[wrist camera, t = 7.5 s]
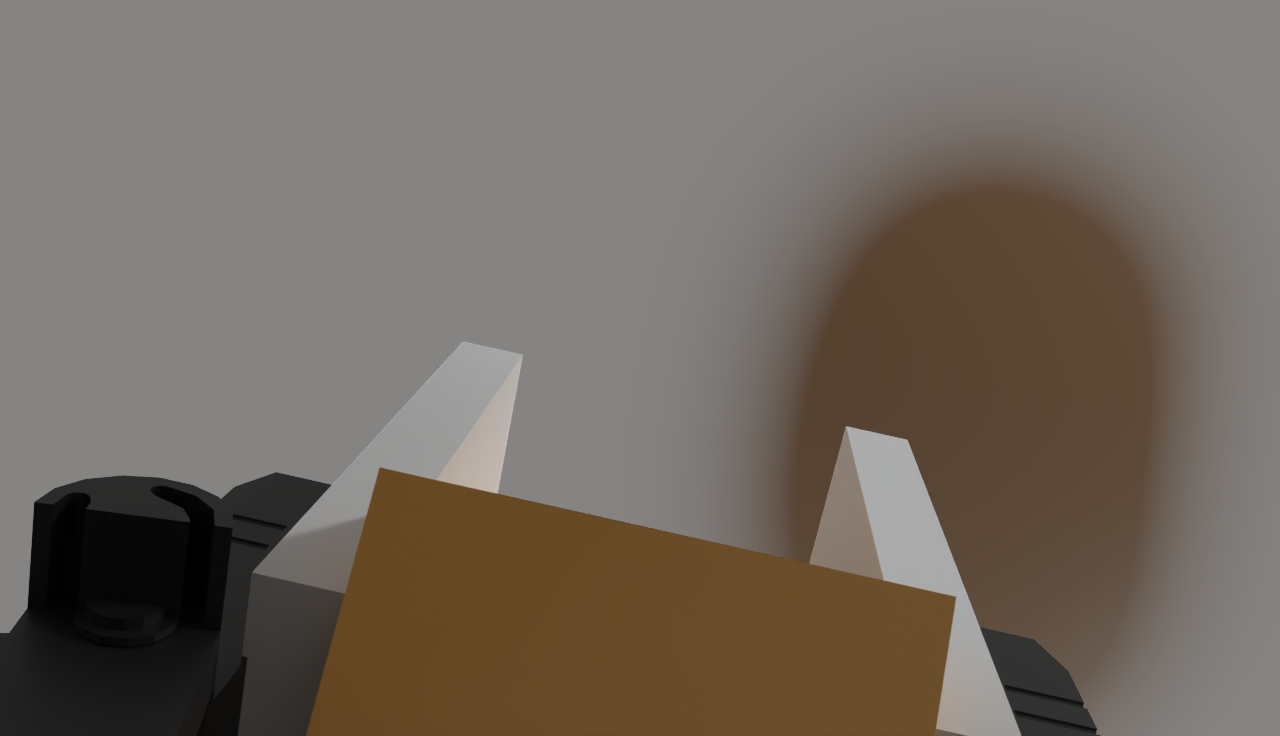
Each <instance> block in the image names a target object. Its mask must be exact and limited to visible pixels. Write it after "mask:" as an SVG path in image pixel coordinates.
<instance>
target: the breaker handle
mask: <svg viewBox="0 0 1280 736" xmlns="http://www.w3.org/2000/svg"><path fill="white" fill-rule="evenodd" d="M955 602H956V596H951V595H947V594H942V593H938V592H933V591H929V590H924V589H920V588H915V587H911V586H906V585H902V584H898V583H893V582H889V581H884V580H880V579H875V578H871V577H866V576H862V575H857V574H853V573H848V572H844V571H840V570H835V569H831V568H826V567H822V566H817V565H813V564H808V563H804V562H799V561H795V560H791V559H786V558H782V557H777V556H773V555H768V554H763V553H759V552H755V551H750V550H746V549H741V548H737V547H733V546H728V545H724V544H719V543H715V542H710V541H706V540H701V539H697V538H692V537H688V536H683V535H679V534H675V533H670V532H666V531H661V530H657V529H652V528H648V527H643V526H639V525H634V524H630V523H625V522H621V521H617V520H612V519H608V518H603V517H599V516H594V515H590V514H585V513H581V512H577V511H572V510H567V509H562V508H559V507H554V506H550V505H545V504H541V503H536V502H532V501H527V500H523V499H518V498H514V497H509V496H505V495H501V494H496V493H492V492H487V491H483V490H478V489H474V488H469V487H465V486H461V485H456V484H452V483H447V482H443V481H438V480H434V479H429V478H425V477H420V476H416V475H412V474H407V473H403V472H398V471H394V470H389V469H385V468H379V471H378V475H377V479H376V482H375V486H374V490H373V493H372V497H371V501H370V504H369V508H368V511H367V515H366V519H365V522H364V526H363V530H362V533H361V537H360V541H359V544H358V548H357V551H356V555H355V559H354V562H353V566H352V570H351V573H350V577H349V581H348V584H347V588H346V592H345V595H344V599H343V602H342V606H341V610H340V613H339V617H338V621H337V624H336V628H335V632H334V635H333V639H332V642H331V646H330V650H329V653H328V657H327V661H326V664H325V668H324V672H323V675H322V679H321V682H320V686H319V690H318V693H317V697H316V701H315V704H314V708H313V712H312V715H311V719H310V723H309V726H308V730H307V733H306V736H935V732H936V725H937V719H938V712H939V706H940V699H941V693H942V687H943V680H944V674H945V667H946V661H947V654H948V648H949V641H950V635H951V628H952V622H953V615H954V609H955Z"/></svg>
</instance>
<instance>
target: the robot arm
mask: <svg viewBox="0 0 1280 736" xmlns="http://www.w3.org/2000/svg"><path fill="white" fill-rule="evenodd" d="M522 358H523V355H522V354H518V353H513V352H508V351H504V350H500V349H495V348H491V347H486V346H482V345H477V344H473V343H468V342H464V341H463V342H462V343H461V344H460V345H459V346H458V347H457V348H456V350H455V351H454V352H453V353H452V354H451V355H450V356H449V357H448V358H447V359H446V360H445V362H444V363H443V364H442V365H441V366H440V367H439V368H438V369H437V370H436V371H435V373H434V374H433V375H432V376H431V377H430V378H429V379H428V380H427V381H426V382H425V384H424V385H423V386H422V387H421V388H420V389H419V390H418V391H417V392H416V393H415V394H414V395H413V397H412V398H411V399H410V400H409V401H408V402H407V403H406V404H405V405H404V406H403V408H402V409H401V410H400V411H399V412H398V413H397V414H396V415H395V416H394V417H393V418H392V420H391V421H390V422H389V423H388V424H387V425H386V426H385V427H384V428H383V429H382V431H381V432H380V433H379V434H378V435H377V436H376V437H375V438H374V439H373V440H372V441H371V443H370V444H369V445H368V446H367V447H366V448H365V449H364V450H363V451H362V452H361V454H360V455H359V456H358V457H357V458H356V459H355V460H354V461H353V462H352V464H350V466H349V467H348V468H347V469H346V470H345V471H344V472H343V473H342V474H341V475H340V477H339V478H338V479H337V480H336V481H335V482H334V483H333V484H332V485H330V484H325V483H321V482H316V481H312V480H308V479H303V478H299V477H294V476H290V475H285V474H281V473H273V474H270V475H267V476H265V477H262V478H259V479H256V480H253V481H250V482H247V483H244V484H242V485H239V486H236V487H234V488H233V489H232V490H231V491H230V492H229V493H227V494H226V495H225V496H224V497H223V498H222V499H220V498H219V497H217V496H215V495H213V494H211V493H209V492H207V491H204V490H202V489H200V488H198V487H196V486H194V485H190V484H185V483H181V482H176V481H172V480H167V479H162V478H155V477H154V478H153V477H137V476H114V477H103V478H93V479H85V480H81V481H78V482H75V483H71V484H68V485H65V486H61V487H58V488H55V489H53V490H52V491H50V492H49V493H48V494H46V495H44V496H43V497H41V498H40V499H38V500H37V501H35V502H34V518H33V532H32V548H31V564H30V578H29V579H30V580H29V595H28V608H27V610H26V611H25V613H24V614H23V615H22V616H21V618H20V619H19V621H18V622H17V623H16V625H15V626H14V627H13V629H12V630H11V631H10V633H0V736H306V733H307V730H308V726H309V723H310V719H311V715H312V712H313V708H314V704H315V701H316V697H317V693H318V690H319V686H320V682H321V679H322V675H323V672H324V668H325V664H326V661H327V657H328V653H329V650H330V646H331V642H332V639H333V635H334V632H335V628H336V624H337V621H338V617H339V613H340V610H341V606H342V602H343V599H344V595H345V592H346V588H347V584H348V581H349V577H350V573H351V570H352V566H353V562H354V559H355V555H356V551H357V548H358V544H359V541H360V537H361V533H362V530H363V526H364V522H365V519H366V515H367V511H368V508H369V504H370V501H371V497H372V493H373V490H374V486H375V482H376V479H377V475H378V471H379V468H385V469H389V470H394V471H398V472H403V473H407V474H412V475H416V476H420V477H425V478H429V479H434V480H438V481H443V482H447V483H452V484H456V485H461V486H465V487H469V488H474V489H478V490H483V491H487V492H492V493H496V494H498V488H499V482H500V478H501V472H502V467H503V461H504V455H505V450H506V445H507V439H508V434H509V428H510V423H511V418H512V412H513V406H514V401H515V396H516V390H517V385H518V379H519V374H520V369H521V363H522ZM809 564H813V565H817V566H822V567H826V568H831V569H835V570H840V571H844V572H848V573H853V574H857V575H862V576H866V577H871V578H875V579H880V580H884V581H889V582H893V583H898V584H902V585H906V586H911V587H915V588H920V589H924V590H929V591H933V592H938V593H942V594H947V595H951V596H956V602H955V609H954V615H953V622H952V628H951V635H950V641H949V648H948V654H947V661H946V667H945V674H944V680H943V687H942V693H941V699H940V706H939V712H938V719H937V725H936V732H935V736H1100V735H1096V730H1097V728H1096V726H1095V724H1094V722H1093V720H1092V718H1091V716H1090V714H1089V712H1088V710H1087V709H1085V708H1083V704H1084V702H1083V700H1082V698H1081V696H1080V694H1079V692H1078V690H1077V688H1076V686H1075V684H1074V682H1073V680H1072V678H1071V676H1070V674H1069V672H1068V671H1067V670H1066V669H1065V668H1064V667H1063V666H1062V665H1061V664H1060V663H1059V662H1058V661H1057V660H1056V659H1054V658H1053V657H1052V656H1051V655H1050V654H1049V653H1048V652H1047V651H1046V650H1045V649H1044V648H1042V646H1040V645H1039V644H1038V643H1037V642H1036V641H1035V640H1034V639H1029V638H1025V637H1020V636H1016V635H1011V634H1007V633H1003V632H998V631H994V630H989V629H985V628H981V627H979V624H978V622H977V619H976V617H975V614H974V612H973V609H972V606H971V604H970V601H969V599H968V596H967V593H966V591H965V588H964V585H963V584H962V581H961V578H960V575H959V573H958V570H957V567H956V565H955V562H954V560H953V557H952V554H951V552H950V549H949V547H948V544H947V541H946V539H945V536H944V534H943V531H942V529H941V526H940V524H939V521H938V518H937V516H936V513H935V510H934V508H933V505H932V503H931V500H930V498H929V495H928V492H927V490H926V487H925V484H924V482H923V479H922V477H921V474H920V472H919V469H918V466H917V464H916V461H915V459H914V456H913V453H912V451H911V448H910V446H909V443H908V440H905V439H901V438H896V437H892V436H887V435H883V434H878V433H874V432H869V431H865V430H860V429H856V428H851V427H847V426H846V429H845V432H844V436H843V440H842V444H841V447H840V451H839V455H838V459H837V462H836V466H835V470H834V474H833V477H832V481H831V485H830V488H829V492H828V496H827V500H826V503H825V507H824V511H823V515H822V518H821V522H820V526H819V529H818V533H817V537H816V541H815V544H814V548H813V552H812V555H811V559H810V563H809Z"/></svg>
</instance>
